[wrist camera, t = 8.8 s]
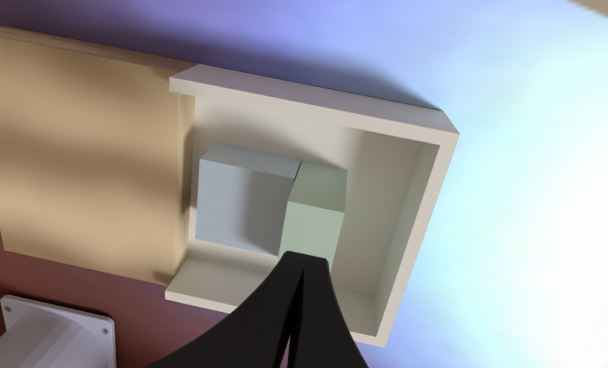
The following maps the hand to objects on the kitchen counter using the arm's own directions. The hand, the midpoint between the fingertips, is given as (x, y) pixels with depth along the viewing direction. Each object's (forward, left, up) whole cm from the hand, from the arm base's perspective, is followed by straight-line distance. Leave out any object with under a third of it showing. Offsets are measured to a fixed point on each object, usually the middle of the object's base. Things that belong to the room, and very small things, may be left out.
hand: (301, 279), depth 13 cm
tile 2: (-2, +4, -9) cm, 10 cm away
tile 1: (-2, +1, -7) cm, 7 cm away
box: (-2, +1, -9) cm, 10 cm away
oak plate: (-2, +12, -9) cm, 15 cm away
